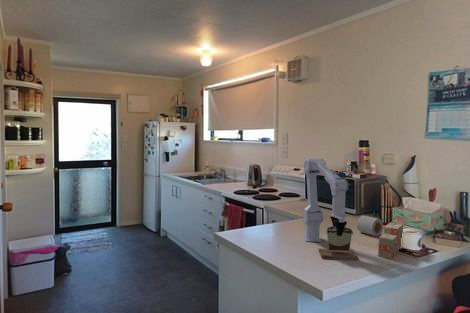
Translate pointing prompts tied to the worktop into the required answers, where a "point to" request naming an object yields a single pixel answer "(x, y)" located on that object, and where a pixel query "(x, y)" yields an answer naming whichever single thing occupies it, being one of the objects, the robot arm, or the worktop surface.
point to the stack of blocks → (390, 240)
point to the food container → (339, 239)
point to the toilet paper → (370, 225)
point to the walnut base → (337, 254)
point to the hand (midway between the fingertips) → (337, 233)
